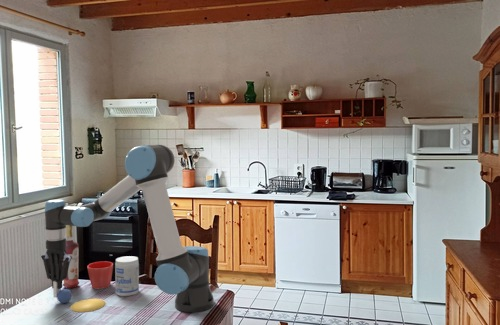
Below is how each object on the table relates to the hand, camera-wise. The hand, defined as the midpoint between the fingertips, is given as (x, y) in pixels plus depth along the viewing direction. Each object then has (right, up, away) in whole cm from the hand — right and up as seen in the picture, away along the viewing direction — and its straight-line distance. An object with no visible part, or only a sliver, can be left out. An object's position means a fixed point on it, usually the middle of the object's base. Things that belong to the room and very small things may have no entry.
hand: (57, 296), depth 177 cm
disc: (+14, -3, -4) cm, 15 cm away
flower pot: (+11, -1, +18) cm, 22 cm away
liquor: (-2, -2, +18) cm, 18 cm away
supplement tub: (+26, -2, +10) cm, 28 cm away
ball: (+3, 0, -1) cm, 3 cm away
